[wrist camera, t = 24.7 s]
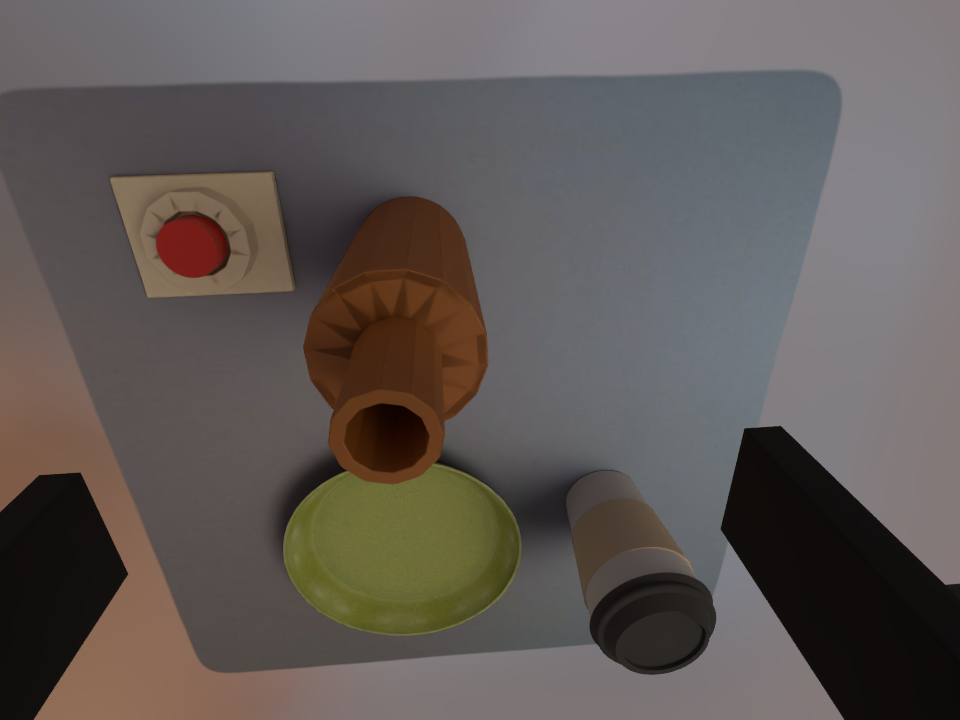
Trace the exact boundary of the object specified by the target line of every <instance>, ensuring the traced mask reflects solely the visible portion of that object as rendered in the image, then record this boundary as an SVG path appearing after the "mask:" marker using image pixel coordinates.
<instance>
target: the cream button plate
mask: <svg viewBox="0 0 960 720" xmlns="http://www.w3.org/2000/svg"><path fill="white" fill-rule="evenodd" d="M110 182H111V185H112V188H113V191H114V194H115V197H116V201H117V204H118V207H119V210H120V213H121V216H122V219H123V222H124V225H125V228H126V232H127V235H128V238H129V241H130V244H131V247H132V250H133V253H134V256H135V259H136V263H137V266H138V269H139V272H140V275H141V278H142V281H143V284H144V287H145V291H146V294H147V297H148V298H157V297H179V296H200V295H222V294H243V293H265V292H286V291H294V290H295V288H296V287H295V282H294V276H293V271H292V266H291V260H290V255H289V250H288V244H287V239H286V234H285V228H284V223H283V217H282V212H281V207H280V201H279V196H278V191H277V185H276V180H275V175H274V172H273V171H264V172H233V173H202V174H171V175H141V176H114V177H110ZM186 215H197V216H201V217H204V218H206V219H208V220H210V221H211V222H213V223H214V224H215V225H216V226H217V227H218V228H219V229H220V230H221V231H222V233H223V235H224V237H225V239H226V242H227V254H226V257H225V260H224V261H223V262H222V264H221V265H219V266H218V267H217V268H216V269H214V270H213V271H212V272H210V273H209V274H208V275H206V276H203V277H199V278H188V277H184V276H181V275H179V274H176V273H175V272H173V271H172V270H170V269H169V268H168V267H167V266H166V265H165V264H164V263H163V262H162V260H161V259H160V257H159V254H158V252H157V248H156V239H157V235H158V233H159V231H160V229H161V228H162V227H163V226H164V225H166V224H167V223H169V222H171V221H173V220H176V219H178V218H180V217H182V216H186Z"/></svg>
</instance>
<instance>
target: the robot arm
mask: <svg viewBox="0 0 960 720" xmlns="http://www.w3.org/2000/svg"><path fill="white" fill-rule="evenodd" d="M721 530H722V532H723V534H724V535H725V537H726V538H727V540H728V541H729V543H730V544H731V546H732V547H733V549H734V550H735V552H736V554H737V555H738V557H739V558H740V560H741V561H742V563H743V564H744V566H745V567H746V569H747V570H748V572H749V574H750V575H751V576H752V578H753V580H754V581H755V583H756V584H757V586H758V587H759V589H760V590H761V592H762V594H763V595H764V597H765V598H766V600H767V601H768V603H769V604H770V606H771V607H772V609H773V610H774V612H775V614H776V615H777V617H778V618H779V619H780V621H781V623H782V624H783V626H784V627H785V629H786V630H787V632H788V634H789V635H790V636H791V638H792V640H793V641H794V643H795V644H796V646H797V647H798V649H799V650H800V652H801V654H802V655H803V656H804V658H805V660H806V661H807V663H808V664H809V666H810V667H811V669H812V670H813V672H814V674H815V675H816V677H817V678H818V680H819V681H820V683H821V684H822V686H823V687H824V689H825V690H826V692H827V694H828V695H829V697H830V698H831V700H832V701H833V703H834V704H835V706H836V707H837V709H838V710H839V712H840V714H841V715H842V717H843V718H844V720H960V584H951V585H945V584H944V583H943V582H942V581H941V580H940V579H939V578H938V577H937V576H935V575H934V574H933V573H932V572H931V571H930V570H929V569H928V568H927V567H926V566H925V565H924V564H923V563H922V562H921V561H920V560H919V559H918V558H917V557H916V556H915V555H914V554H913V553H912V552H911V551H910V550H909V549H908V548H907V547H906V546H904V545H903V544H902V543H901V542H900V541H899V540H898V539H897V538H896V537H895V536H894V535H893V534H892V533H891V532H890V531H889V530H888V529H887V528H886V527H885V526H884V525H883V524H882V523H880V521H879V520H877V518H875V517H874V516H873V515H872V514H871V513H870V512H869V511H868V510H867V509H866V508H865V507H864V506H863V505H862V504H861V503H860V502H859V501H858V500H857V499H856V498H855V497H854V496H853V495H852V494H851V493H850V492H849V491H848V490H846V489H845V488H844V487H843V486H842V485H841V484H840V483H839V482H838V481H837V480H836V479H835V478H834V477H833V476H832V475H831V474H830V473H829V472H828V471H827V470H826V469H825V468H824V467H823V466H822V465H821V464H820V463H819V462H817V460H815V459H814V458H813V457H812V456H811V455H810V454H809V453H808V452H807V451H806V450H805V449H804V448H803V447H802V446H801V445H800V444H799V443H798V442H797V441H796V440H795V439H794V438H793V437H792V436H791V435H789V434H788V433H787V432H786V431H785V430H784V429H783V428H782V427H781V426H774V427H759V428H745V429H744V433H743V437H742V441H741V445H740V450H739V454H738V458H737V462H736V467H735V471H734V475H733V479H732V483H731V488H730V492H729V496H728V500H727V504H726V509H725V513H724V517H723V521H722V526H721ZM127 575H128V572H127V571H126V568H125V566H124V565H123V562H122V560H121V558H120V555H119V553H118V551H117V549H116V547H115V545H114V543H113V541H112V538H111V536H110V534H109V532H108V530H107V528H106V526H105V524H104V521H103V519H102V517H101V515H100V513H99V511H98V509H97V507H96V505H95V502H94V500H93V498H92V496H91V494H90V492H89V490H88V487H87V485H86V483H85V481H84V479H83V477H82V475H81V473H68V474H67V473H66V474H52V475H39V476H38V477H37V478H36V479H35V480H34V481H33V482H32V483H31V484H30V485H28V486H27V487H26V488H25V489H24V490H23V491H22V492H21V493H20V494H19V495H18V496H17V497H16V498H15V499H14V500H13V501H12V502H10V503H9V504H8V505H7V506H6V507H5V508H4V509H3V510H2V511H1V512H0V720H34V718H35V717H36V715H37V714H38V712H39V710H40V709H41V707H42V706H43V704H44V703H45V701H46V699H47V698H48V697H49V695H50V694H51V692H52V691H53V689H54V687H55V686H56V684H57V683H58V681H59V680H60V678H61V677H62V675H63V673H64V672H65V671H66V669H67V667H68V666H69V664H70V663H71V661H72V660H73V658H74V657H75V655H76V654H77V652H78V650H79V649H80V647H81V646H82V644H83V643H84V641H85V640H86V638H87V637H88V635H89V634H90V632H91V630H92V629H93V627H94V626H95V624H96V623H97V621H98V620H99V618H100V616H101V615H102V614H103V612H104V611H105V609H106V607H107V606H108V604H109V602H110V601H111V600H112V598H113V597H114V595H115V594H116V592H117V590H118V589H119V587H120V586H121V584H122V583H123V581H124V580H125V578H126V577H127Z"/></svg>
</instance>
